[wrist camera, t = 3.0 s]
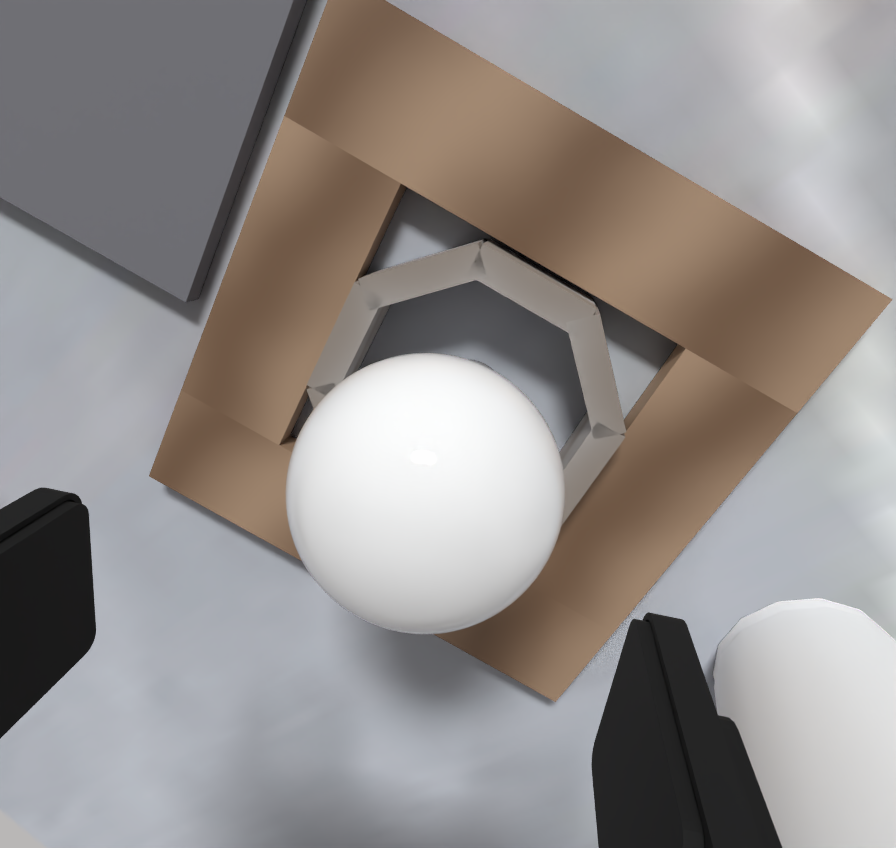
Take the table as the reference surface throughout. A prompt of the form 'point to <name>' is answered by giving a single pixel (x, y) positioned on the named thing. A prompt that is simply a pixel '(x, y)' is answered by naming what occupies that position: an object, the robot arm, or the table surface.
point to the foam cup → (816, 719)
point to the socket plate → (548, 243)
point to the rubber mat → (137, 121)
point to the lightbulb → (425, 493)
